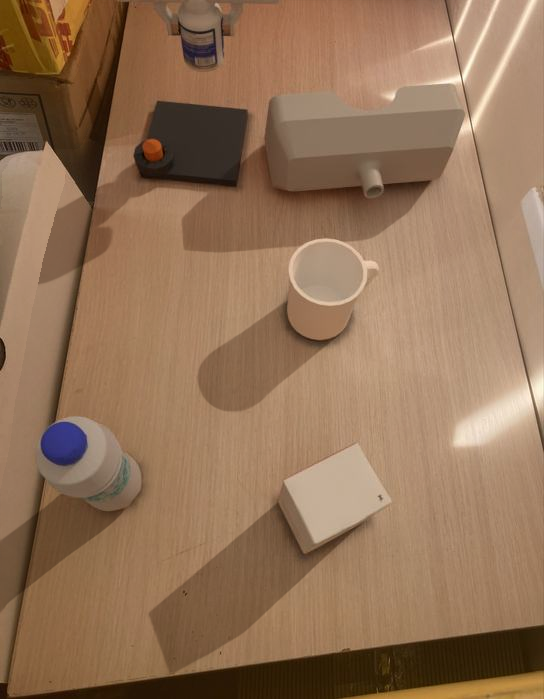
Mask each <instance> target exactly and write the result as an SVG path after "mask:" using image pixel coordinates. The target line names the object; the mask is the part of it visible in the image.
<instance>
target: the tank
mask: <svg viewBox="0 0 544 699" xmlns="http://www.w3.org/2000/svg"><path fill="white" fill-rule="evenodd" d="M465 119H466V112H465V110H464V106H463V103H462V101H461V98H460V96H459V93H458V90H457V88H456V85H455V84H454V83H451V82H449V83H436V84H435V83H434V84H418V85H404V86H400V87H399V88H397V89H396V91H395V94H394V97H393V100H392V101H391V102H390V103H389V104H388V105H386V106H384V107H382V108H381V107H380V108H379V109H371V110H368V109H360V108H357V107H353V106H352V105H349V104H348V103H347V102H345V101H344V100H343V99H342V98H341V97H340V96H339V94H337V93H336V92H333V91H330V90H329V91H327V90H326V91H325V90H324V91H312V92H310V91H309V92H297V93H281V94H275V95H274V96H272V97H271V98H270V99H269V101H268V108H267V116H266V121H265V131H264V145H265V150H266V156H267V162H268V169H269V175H270V181H271V186H272V187H273V188H274V189H276V190H281V191H286V192H301V191H313V190H325V189H338V188H339V189H340V188H349V187H350V188H352V187H362V192H363V194H364V197H365V198H367V199H375V198H378V197H380V196H381V195H382V194H383V193H384V192H385V189H384V185H388V184H400V183H401V184H402V183H413V182H425V181H436V180H438V179H440V178H441V177H442V175H443V173H444V172H445V169H446V167H447V164H448V163H449V160H450V158H451V156H452V154H453V152H454V149H455V146H456V144H457V140H458V138H459V135H460V132H461V129H462V126H463V123H464V121H465Z"/></svg>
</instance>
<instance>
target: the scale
mask: <svg viewBox="0 0 544 699" xmlns="http://www.w3.org/2000/svg"><path fill="white" fill-rule="evenodd" d="M248 116H249V112H248V109H246V108H235V107H227V106H216V105H206V104H197V103H188V102H187V103H186V102H175V101H166V100H156V103H155V108H154V111H153V115H152V118H151V123H150V127H149V131H148V135H147V138H146V140H142V141H141V142H140V143H138V145H137V146H135V147H134V152H133V155H132V156H133V159H134V164H135V166H136V168H137V170H138V172H139V176H140V178H143V179H151V180H152V179H153V180H161V181H163V180H164V181H172V182H183V183H193V184H203V185H212V186H213V185H214V186H223V187H233V188H237V186H238V181H239V174H240V169H241V162H242V154H243V149H244V141H245V137H246V129H247V123H248ZM149 139H156V140H158V141H159V142H160V143H161V146H162V151H163V157H162V159H161V160H159V161H157V162H150V161H148V160H147V159H146V158H145V155H144V151H143V147H142V146H143V143H144V142H145V141H147V140H149Z"/></svg>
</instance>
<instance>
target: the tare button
mask: <svg viewBox="0 0 544 699" xmlns="http://www.w3.org/2000/svg"><path fill="white" fill-rule="evenodd" d="M146 140H147V139H146ZM144 141H145V140H144ZM142 147H143V151H144V155H145V158H146V159H147V160H148V161H150V162H157V161H159V160H161V159H162V157H163V151H162V146H161V143H160V142H159V141H158V140H156V139H149V140H147V141H145V142H144V143H143V146H142Z"/></svg>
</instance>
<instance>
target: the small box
mask: <svg viewBox="0 0 544 699" xmlns="http://www.w3.org/2000/svg"><path fill="white" fill-rule="evenodd" d="M277 503H278V505H279V507H280V509H281V511H282V513H283V516H284V518H285V519H286V521H287V523H288V525H289V527H290V529H291V532H292V533H293V536H294V537H295V540H296V541H297V543H298V546H299V548H300V549H301V552H302V553H303V554H304V555H306V554H308V553H310V552H313V551H314V550H316V549H318V548H320V547H321V546H323V545H325V544H326V543H327V544H328V542H331V541H332V540H334V539H336V538H337V537H339V536H341V535H344V534H345V533H347V532H348V531H350V530H352V529H354V528H355V527H357V526H359V525H360V524H363V523H364V522H365V521H367V520H368V519H370V518H371V517H372V516H374V515H376V514H377V513H379V512H380V511H382V510H383V509H385V508H388V506H390V505H392V504H393V500H392V498H391V496H390V495H389V494H388V492H387V490H386V489H385V487H384V485H383V483H382V482H381V480H380V479H379V477H378V476H377V474H376V472H375V470H374V469H373V467H372V465H371V464H370V462H369V460H368V458H367V456H366V454H365V453H364V451H363V450H362V448H361V445H360V444H359V443H358V442H354V443H352V444H350V445H348V446H346V447H344V448H342V449H340V450H338V451H336V452H334V453H332V454H331V455H328V456H327V457H324V458H323V459H321V460H319V461H316V462H315V463H313V464H311V465H309V466H307V467H305V468H303V469H302V470H299V471H298V472H296V473H293V474H292V475H290V476H287V477H286V478H284V479H283V480H282V484H281V488H280V492H279V497H278V501H277Z"/></svg>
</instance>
